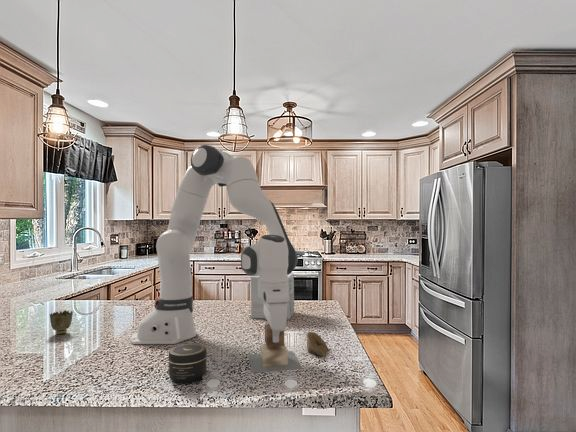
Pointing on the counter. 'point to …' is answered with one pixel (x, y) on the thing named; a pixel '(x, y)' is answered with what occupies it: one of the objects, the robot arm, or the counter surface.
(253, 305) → the supplement box
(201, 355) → the jar
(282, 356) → the maple base
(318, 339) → the fossil
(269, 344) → the walnut cube
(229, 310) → the counter surface
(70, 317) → the cup
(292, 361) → the build plate
